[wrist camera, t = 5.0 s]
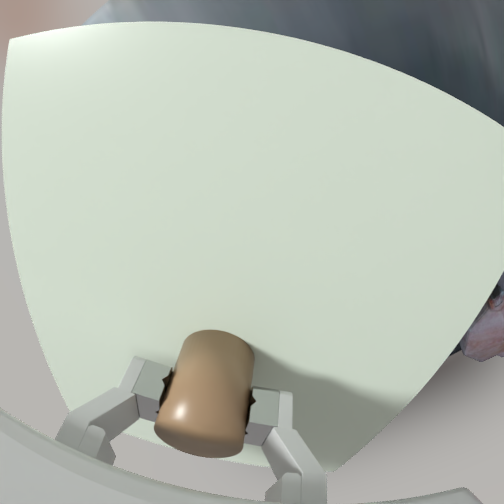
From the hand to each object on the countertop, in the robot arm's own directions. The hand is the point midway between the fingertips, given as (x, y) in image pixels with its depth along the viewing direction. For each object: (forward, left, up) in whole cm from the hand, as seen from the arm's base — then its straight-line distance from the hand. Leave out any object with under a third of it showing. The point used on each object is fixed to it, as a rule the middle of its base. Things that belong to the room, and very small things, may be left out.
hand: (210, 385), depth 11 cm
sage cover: (0, 0, -14) cm, 14 cm away
